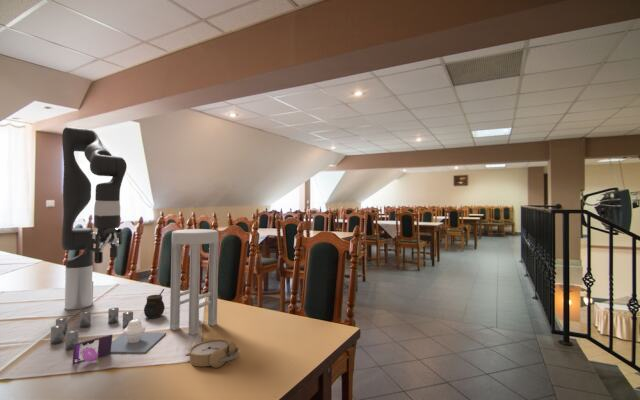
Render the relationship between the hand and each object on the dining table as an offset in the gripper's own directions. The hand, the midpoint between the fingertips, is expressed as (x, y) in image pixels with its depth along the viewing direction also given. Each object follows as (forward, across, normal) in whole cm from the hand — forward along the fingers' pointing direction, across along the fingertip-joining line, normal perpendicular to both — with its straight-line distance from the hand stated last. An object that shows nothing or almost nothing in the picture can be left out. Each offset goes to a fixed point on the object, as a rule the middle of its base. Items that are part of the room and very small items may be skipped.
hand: (106, 260), depth 112 cm
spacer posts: (+25, +2, -4) cm, 25 cm away
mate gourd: (+25, -14, +10) cm, 31 cm away
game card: (+24, +21, +10) cm, 34 cm away
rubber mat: (+24, +10, +15) cm, 30 cm away
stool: (+24, -4, +29) cm, 38 cm away
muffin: (+24, +9, +15) cm, 30 cm away
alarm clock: (+24, +20, +43) cm, 53 cm away
